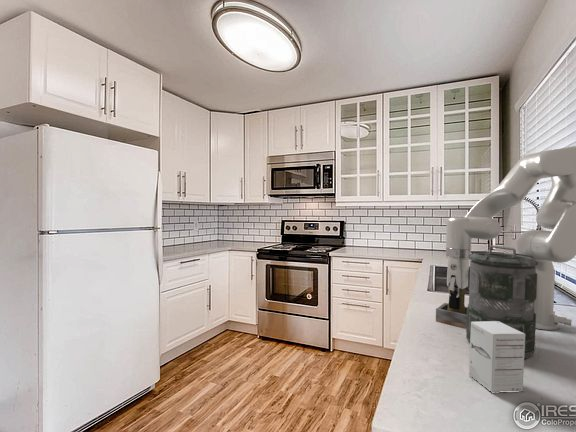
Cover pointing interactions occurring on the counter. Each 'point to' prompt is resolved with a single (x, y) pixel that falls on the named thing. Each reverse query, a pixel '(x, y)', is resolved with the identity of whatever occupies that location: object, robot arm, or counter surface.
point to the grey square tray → (451, 316)
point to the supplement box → (497, 356)
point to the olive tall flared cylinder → (462, 306)
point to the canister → (503, 292)
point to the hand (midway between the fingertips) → (456, 306)
